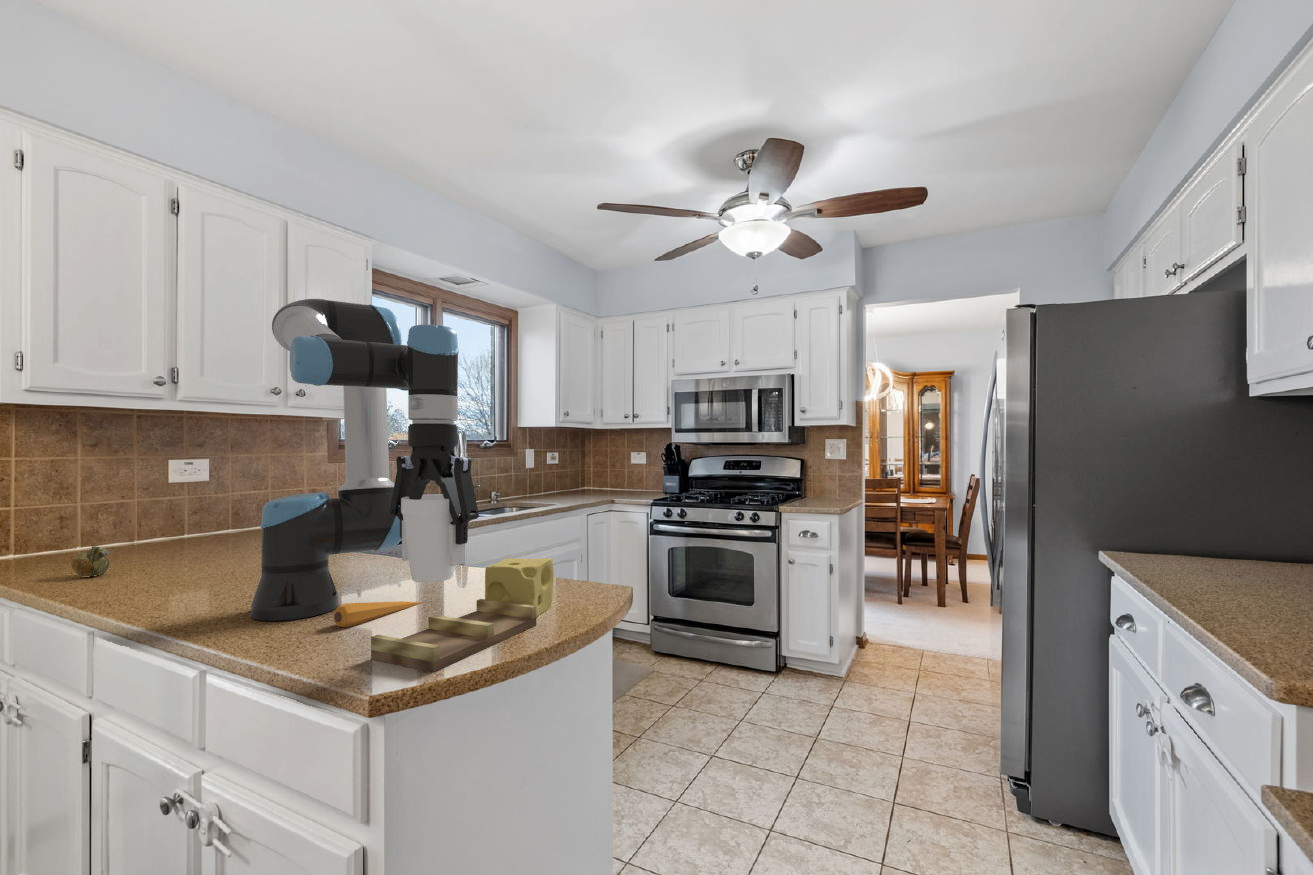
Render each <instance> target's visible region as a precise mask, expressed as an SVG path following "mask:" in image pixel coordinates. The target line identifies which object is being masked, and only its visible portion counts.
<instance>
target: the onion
mask: <svg viewBox="0 0 1313 875" xmlns="http://www.w3.org/2000/svg"><path fill="white" fill-rule="evenodd" d="M109 554H111V550H109V549H108V550H107V549H106V548H104V547H102V546H97V545H93V546H91V548H90V549H89V550H86V551H82V552H81V553H78V554H77V555H75V556H74V557H73V559H72V561H71V569H72V571H73V572H74V573H75V574H77V575H78V576H79V577H81V576H94V575H99V574H102V575H104V574H105V573H106V572H108V570H109V568H110V564H111V562H110V559H109V557H106V556H108V555H109Z"/></svg>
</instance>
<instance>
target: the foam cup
mask: <svg viewBox="0 0 1313 875" xmlns="http://www.w3.org/2000/svg"><path fill="white" fill-rule="evenodd" d="M401 513H402V514H403V520H404V527H405V535H406V542H407V549H408V557H409V560H408V561H409V562H408V564H409V569H410V570H409V571H410V576H411V580H412V582H416V583H425V584H426V583H439V582H444V581H448V580H450V579H453V577H454V576H455V575H454V574H455V570H456V566H449V524H450V522H452V521H453V520H452V517H451V515H450V512H449V499H444V497H443V494H442V493H441V494H440V493H439V494H438V493H437V494H435V493H434V494H423V495H422V498H421V499H420V500H413V499H409V497H403V498H401ZM459 515H460V514H459Z"/></svg>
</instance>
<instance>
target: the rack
mask: <svg viewBox="0 0 1313 875" xmlns="http://www.w3.org/2000/svg"><path fill="white" fill-rule="evenodd" d="M535 625H536V626H537V618H536V606H532V605H524V604H516V603H509V602H501V601H493V600H486V599H485V598H479V599H477V600H476V610H475V611H472V612H469V613H468V614H464V615H461V616H459V617H453V616H452V617H451V616H445V615H441V614H439V615H438V614H432V615H430V616H428V628H426V629H424V630H421V631H418V632H415V633H413V634H409V635H407V636H405V637H403V638H398V637H393V636H388V635H381V634H375V635H372V636H370V660H371V661H378V662H381V663H382V662H383V663H386V664H387V663H388V664H391V665H396V666H401V667H407V668H413V669H415V670H416V669H417V670H421V671H427V672H430V673H431V672H432V673H436V672H437V671H438V672H439V671H440V670H442V669H443V668H446V667H448V666H451V665H452V664H455V663H457V662H459V661H461V660H464V659H466V658H468V657H470V656H472V655H474V654H477V653H478V652H481V651H483V650H486V649H487V648H489V647H491V646H494V645H496V644H499V643H500V642H504V641H505V640H507V639H510V638H511V637H514V636H515V635H518V634H520V633H522V632H524V630H525V631H527V630H529V629H531V628H534V627H536V626H535ZM533 626H534V627H533ZM526 629H527V630H526Z"/></svg>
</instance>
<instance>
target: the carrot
mask: <svg viewBox="0 0 1313 875" xmlns="http://www.w3.org/2000/svg"><path fill="white" fill-rule="evenodd" d="M422 603H423V602H422V601H379V602H378V601H375V602H370V601H369V602H348V603H343V604H340V605H338V607H337V608H335V609H334V614H333V621H334V623H335V625H336V626H337V627H342V628H351V627H354V626H358V625H360V624H363V623H366V622H369V621H372V620H377V619H378V618H381V616H382V617H385V616H387V615H391V614H394V613H397V612H400V611H403V610H406V609H409V608H412V607H414V606H417V605H420V604H422ZM416 604H417V605H416ZM411 606H412V607H411ZM405 608H406V609H405ZM402 609H403V610H402ZM393 612H394V613H393ZM390 613H391V614H390Z"/></svg>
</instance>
